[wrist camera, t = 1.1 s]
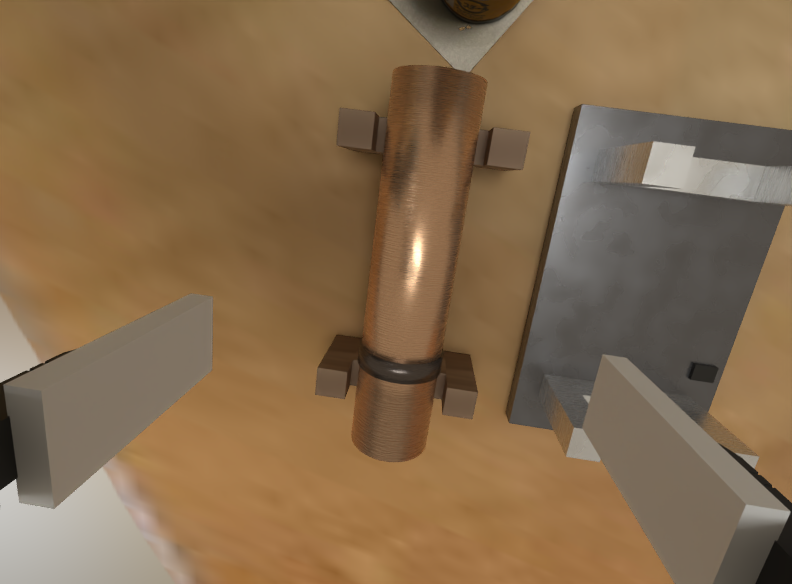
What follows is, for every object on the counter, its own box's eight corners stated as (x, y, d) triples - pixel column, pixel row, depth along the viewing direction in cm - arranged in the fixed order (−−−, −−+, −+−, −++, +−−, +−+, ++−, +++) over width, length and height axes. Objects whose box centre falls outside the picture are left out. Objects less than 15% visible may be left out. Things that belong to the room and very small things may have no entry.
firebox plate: (574, 107, 28) (632, 80, 20) (792, 135, 28) (943, 118, 19) (505, 412, 35) (528, 486, 26) (682, 440, 34) (761, 524, 26)
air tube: (394, 82, 25) (384, 59, 20) (484, 93, 25) (497, 73, 20) (356, 409, 31) (341, 455, 26) (428, 421, 31) (427, 469, 26)
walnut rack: (357, 120, 30) (339, 107, 24) (510, 140, 29) (530, 132, 23) (334, 357, 34) (315, 394, 29) (465, 377, 34) (472, 419, 28)
